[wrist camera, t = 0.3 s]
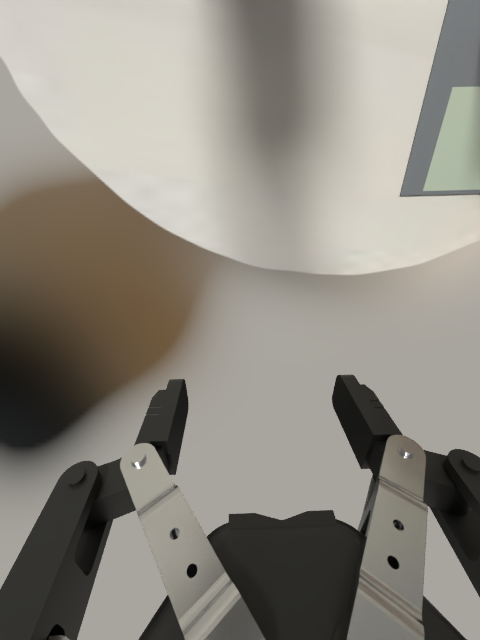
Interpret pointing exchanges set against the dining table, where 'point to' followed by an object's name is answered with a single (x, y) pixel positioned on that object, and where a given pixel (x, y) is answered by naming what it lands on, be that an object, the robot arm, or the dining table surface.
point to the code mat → (450, 111)
